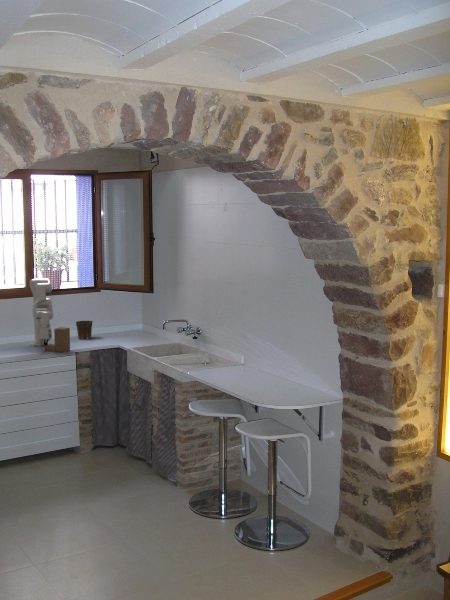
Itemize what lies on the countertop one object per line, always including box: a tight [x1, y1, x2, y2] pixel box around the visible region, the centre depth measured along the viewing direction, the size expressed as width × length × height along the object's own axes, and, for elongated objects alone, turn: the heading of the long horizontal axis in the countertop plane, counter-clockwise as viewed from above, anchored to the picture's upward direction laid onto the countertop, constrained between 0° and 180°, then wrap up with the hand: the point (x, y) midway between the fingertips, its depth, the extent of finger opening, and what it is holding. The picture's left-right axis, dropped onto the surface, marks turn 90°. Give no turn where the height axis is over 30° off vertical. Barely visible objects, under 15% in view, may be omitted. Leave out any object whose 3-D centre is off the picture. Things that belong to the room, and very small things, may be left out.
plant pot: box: [75, 320, 93, 340], centre depth 641 cm, size 16×16×16 cm
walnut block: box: [43, 343, 55, 353], centre depth 581 cm, size 10×10×5 cm
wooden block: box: [53, 326, 71, 353], centre depth 577 cm, size 10×10×20 cm
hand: (45, 346), depth 584 cm, fingers closed
